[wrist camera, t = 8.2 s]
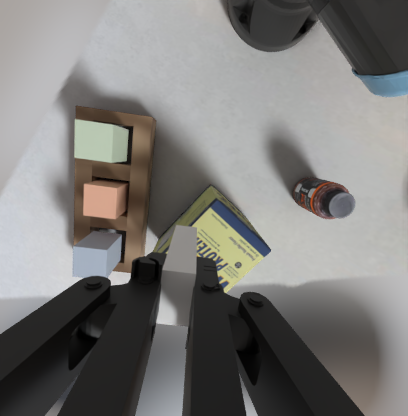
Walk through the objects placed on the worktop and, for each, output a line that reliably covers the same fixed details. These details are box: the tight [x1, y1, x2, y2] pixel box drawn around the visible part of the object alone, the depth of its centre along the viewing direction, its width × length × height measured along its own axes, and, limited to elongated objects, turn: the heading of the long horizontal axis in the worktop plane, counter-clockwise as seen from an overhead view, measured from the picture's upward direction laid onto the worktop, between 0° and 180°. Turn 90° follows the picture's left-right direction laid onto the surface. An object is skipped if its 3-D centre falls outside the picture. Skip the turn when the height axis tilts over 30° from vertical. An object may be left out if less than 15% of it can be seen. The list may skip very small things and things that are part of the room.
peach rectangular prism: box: [83, 179, 130, 219], centre depth 40 cm, size 5×5×7 cm
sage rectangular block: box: [74, 119, 129, 163], centre depth 35 cm, size 5×5×7 cm
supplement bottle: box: [293, 177, 355, 219], centre depth 40 cm, size 6×6×11 cm
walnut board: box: [74, 106, 156, 273], centre depth 42 cm, size 28×12×4 cm, turn 172°
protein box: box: [153, 185, 271, 293], centre depth 39 cm, size 10×16×16 cm
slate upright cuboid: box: [73, 231, 122, 278], centre depth 39 cm, size 5×5×7 cm
